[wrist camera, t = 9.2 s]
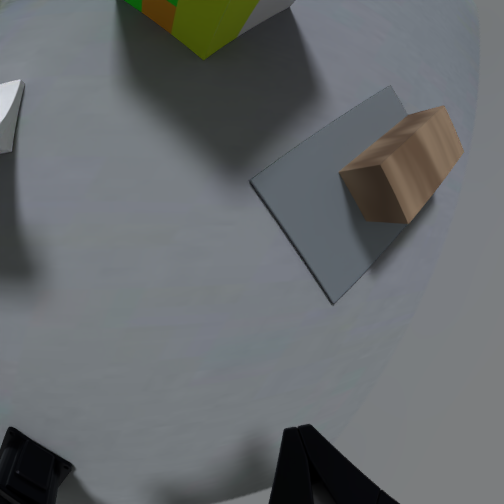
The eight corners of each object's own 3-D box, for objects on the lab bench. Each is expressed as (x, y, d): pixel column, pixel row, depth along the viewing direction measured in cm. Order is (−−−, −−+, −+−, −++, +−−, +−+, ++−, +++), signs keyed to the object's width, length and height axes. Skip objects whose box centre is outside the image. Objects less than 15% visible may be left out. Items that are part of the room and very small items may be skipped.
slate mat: (332, 302, 22) (334, 303, 21) (249, 180, 18) (250, 180, 18) (437, 184, 25) (439, 184, 24) (388, 86, 21) (390, 85, 21)
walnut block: (408, 224, 17) (464, 151, 19) (380, 164, 16) (444, 105, 18) (366, 221, 21) (427, 156, 23) (338, 172, 20) (407, 115, 22)
